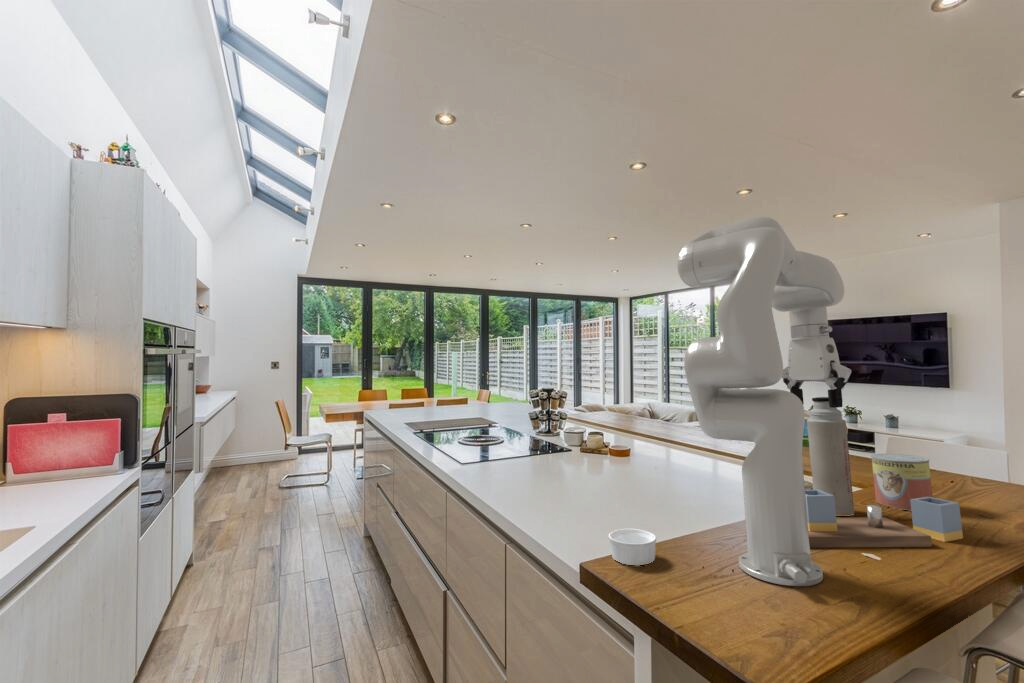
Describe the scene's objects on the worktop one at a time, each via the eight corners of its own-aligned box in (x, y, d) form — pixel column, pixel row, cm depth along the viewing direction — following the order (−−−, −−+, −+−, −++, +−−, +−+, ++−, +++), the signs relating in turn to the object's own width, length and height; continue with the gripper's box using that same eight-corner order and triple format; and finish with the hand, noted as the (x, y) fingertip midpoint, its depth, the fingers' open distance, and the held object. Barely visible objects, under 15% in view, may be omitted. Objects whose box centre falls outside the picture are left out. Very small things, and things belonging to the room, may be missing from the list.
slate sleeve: (963, 538, 91) (959, 502, 91) (944, 542, 89) (940, 505, 90) (931, 530, 96) (928, 496, 96) (913, 533, 94) (910, 499, 95)
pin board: (932, 546, 87) (928, 514, 87) (803, 547, 89) (800, 516, 89) (885, 526, 99) (882, 498, 99) (772, 527, 101) (770, 500, 101)
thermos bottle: (858, 512, 110) (847, 396, 112) (849, 519, 105) (837, 398, 107) (820, 505, 116) (811, 396, 118) (809, 512, 111) (800, 397, 113)
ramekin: (600, 554, 88) (599, 532, 89) (638, 547, 92) (637, 525, 92) (627, 572, 80) (626, 547, 81) (667, 563, 83) (666, 539, 84)
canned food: (866, 503, 116) (861, 456, 117) (890, 497, 121) (885, 452, 122) (920, 514, 106) (914, 463, 107) (944, 507, 111) (938, 458, 112)
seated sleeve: (837, 531, 91) (834, 495, 92) (809, 531, 92) (806, 496, 92) (821, 522, 97) (818, 489, 97) (795, 522, 97) (792, 489, 98)
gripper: (858, 329, 100) (865, 407, 98) (790, 337, 116) (795, 404, 115) (832, 329, 97) (839, 409, 96) (766, 337, 114) (772, 405, 112)
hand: (815, 406), depth 105 cm, fingers open, 9 cm apart
